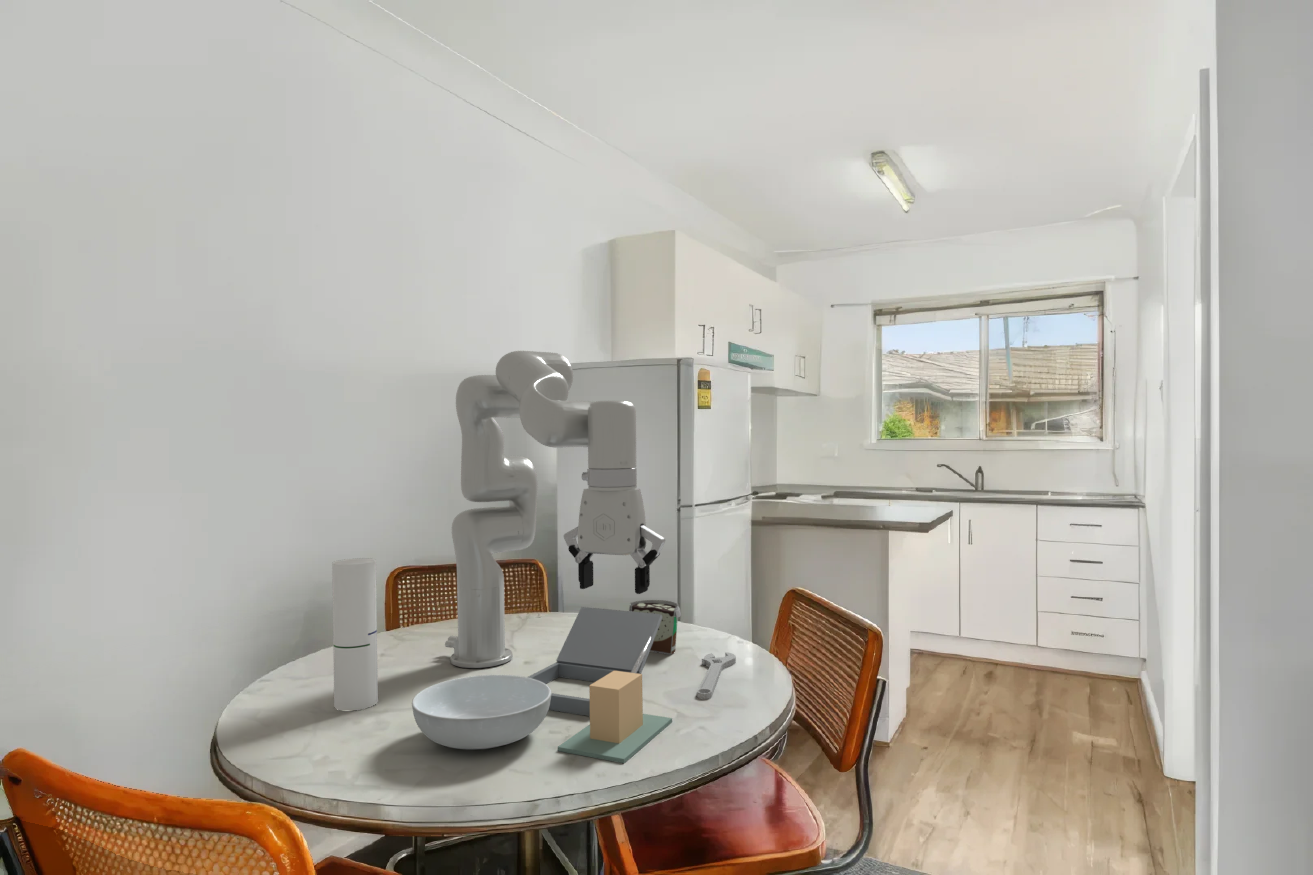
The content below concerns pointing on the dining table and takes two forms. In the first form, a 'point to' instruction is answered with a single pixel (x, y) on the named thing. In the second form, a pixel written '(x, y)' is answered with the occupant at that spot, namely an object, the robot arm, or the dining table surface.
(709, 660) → the adjustable wrench
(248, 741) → the dining table surface
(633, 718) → the block
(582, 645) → the equipment case
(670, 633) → the food container
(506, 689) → the serving bowl
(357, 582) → the cylindrical container
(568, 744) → the rubber mat
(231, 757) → the dining table surface
